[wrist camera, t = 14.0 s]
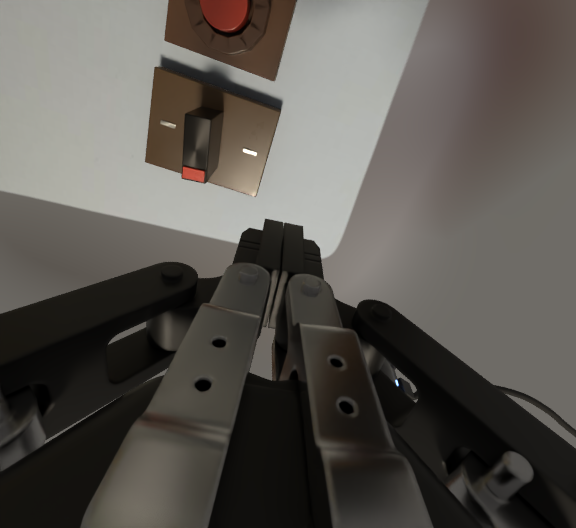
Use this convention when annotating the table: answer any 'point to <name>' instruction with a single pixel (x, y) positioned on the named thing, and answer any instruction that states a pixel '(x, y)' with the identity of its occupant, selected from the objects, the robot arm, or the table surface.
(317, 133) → the table surface
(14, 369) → the robot arm
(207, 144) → the thumbturn
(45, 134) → the table surface
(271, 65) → the block
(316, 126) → the table surface
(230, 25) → the button
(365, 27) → the table surface
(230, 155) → the plate
